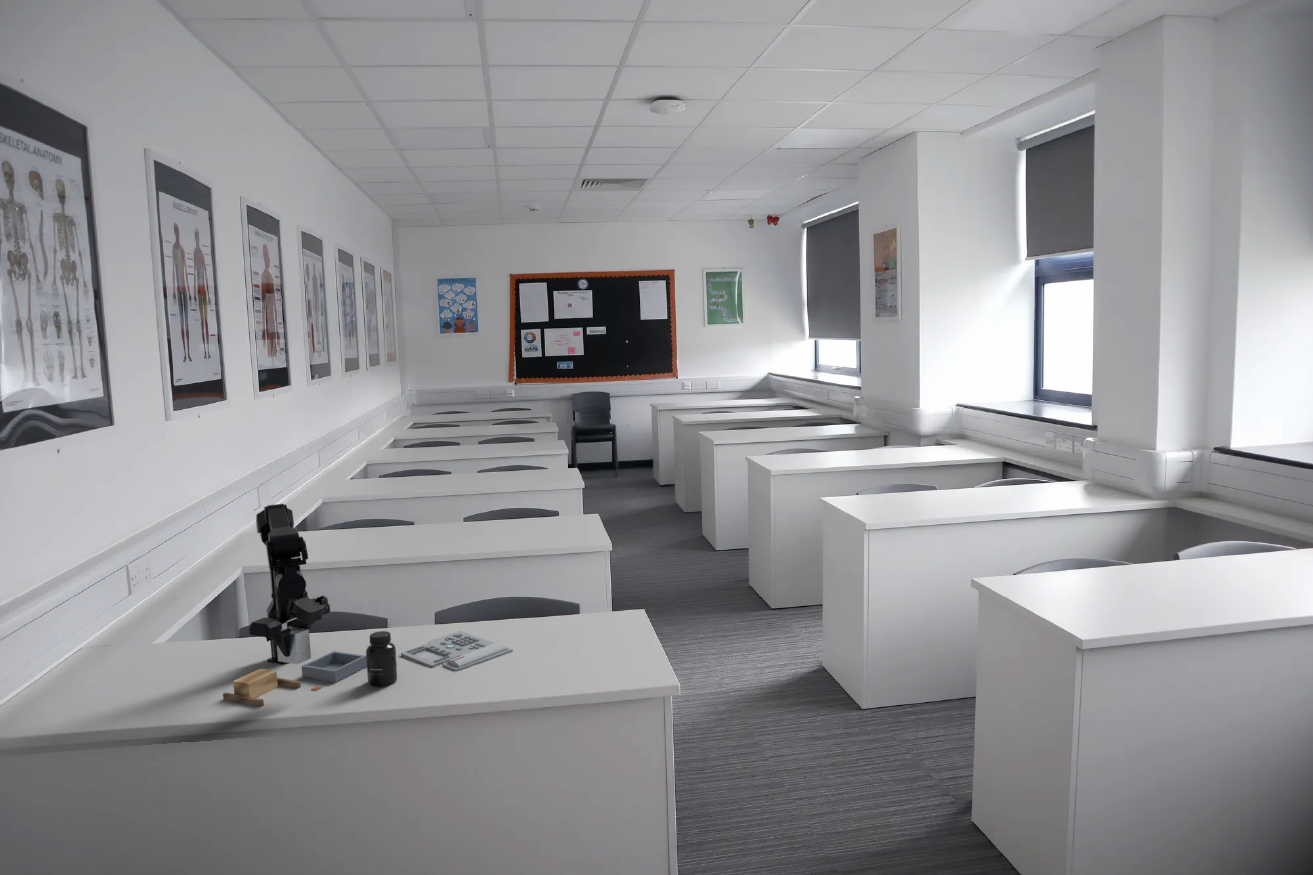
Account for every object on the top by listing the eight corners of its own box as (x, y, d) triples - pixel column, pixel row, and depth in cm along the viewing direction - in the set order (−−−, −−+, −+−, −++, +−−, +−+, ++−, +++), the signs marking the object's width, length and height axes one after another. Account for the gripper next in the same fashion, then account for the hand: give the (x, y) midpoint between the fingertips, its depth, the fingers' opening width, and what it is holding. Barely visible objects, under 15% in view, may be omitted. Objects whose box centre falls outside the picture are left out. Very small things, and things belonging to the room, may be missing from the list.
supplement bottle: (370, 690, 202) (366, 641, 200) (366, 680, 208) (362, 632, 206) (400, 683, 205) (396, 635, 204) (395, 674, 211) (391, 627, 210)
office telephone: (513, 644, 224) (450, 667, 209) (514, 653, 224) (450, 678, 209) (459, 626, 239) (397, 646, 224) (460, 635, 240) (397, 656, 225)
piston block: (234, 697, 200) (233, 681, 200) (262, 684, 207) (261, 668, 207) (250, 700, 198) (248, 683, 198) (277, 687, 205) (276, 671, 205)
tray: (302, 677, 211) (301, 666, 211) (334, 662, 221) (333, 650, 220) (336, 683, 207) (335, 671, 206) (367, 667, 216) (366, 655, 216)
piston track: (223, 700, 199) (222, 693, 199) (268, 679, 211) (267, 673, 211) (278, 710, 192) (277, 704, 192) (321, 688, 204) (320, 682, 204)
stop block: (278, 661, 197) (275, 631, 196) (291, 654, 201) (289, 626, 200) (297, 664, 195) (295, 634, 194) (311, 658, 198) (308, 628, 197)
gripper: (281, 603, 184) (288, 672, 186) (345, 579, 201) (350, 643, 203) (244, 598, 188) (250, 666, 190) (309, 575, 205) (314, 638, 207)
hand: (294, 653), depth 197 cm, fingers closed on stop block, 4 cm apart
